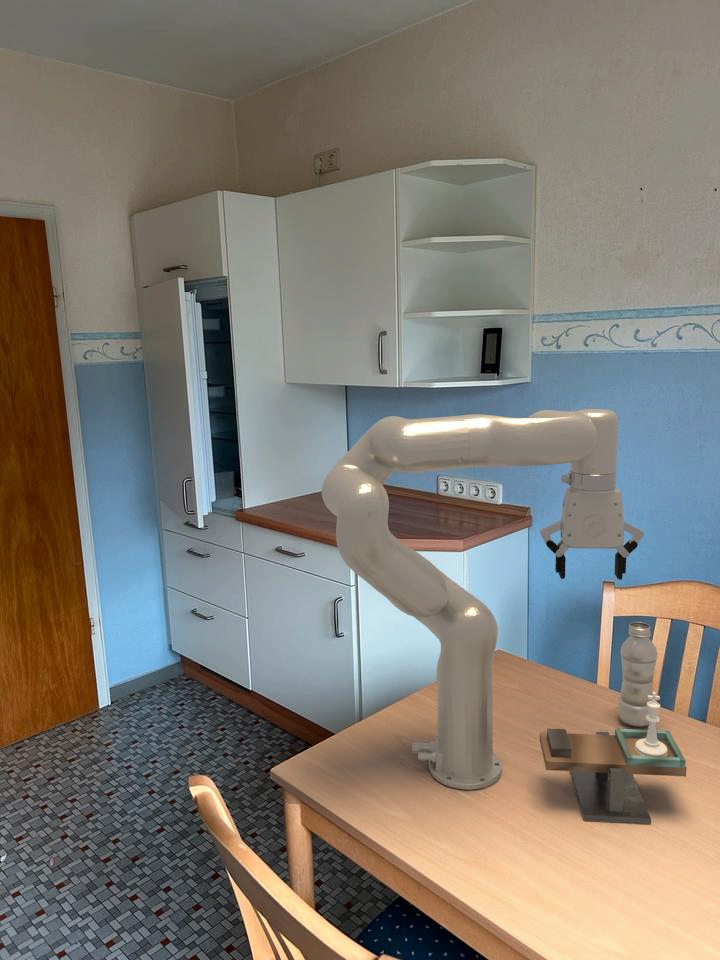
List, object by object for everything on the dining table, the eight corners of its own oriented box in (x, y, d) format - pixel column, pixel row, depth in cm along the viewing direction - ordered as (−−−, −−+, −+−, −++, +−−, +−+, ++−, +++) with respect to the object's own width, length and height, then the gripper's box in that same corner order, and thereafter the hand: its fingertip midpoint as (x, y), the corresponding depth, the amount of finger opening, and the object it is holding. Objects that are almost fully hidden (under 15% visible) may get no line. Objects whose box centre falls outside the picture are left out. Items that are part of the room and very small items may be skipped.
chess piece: (670, 760, 112) (674, 701, 110) (637, 757, 113) (640, 699, 111) (664, 743, 117) (667, 686, 115) (632, 741, 118) (634, 684, 116)
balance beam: (546, 775, 113) (546, 753, 112) (539, 744, 122) (539, 723, 121) (686, 782, 110) (687, 759, 110) (669, 750, 119) (670, 728, 119)
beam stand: (583, 820, 112) (584, 773, 110) (570, 771, 124) (571, 728, 123) (650, 824, 110) (652, 776, 109) (630, 774, 123) (632, 730, 122)
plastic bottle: (622, 710, 144) (626, 616, 140) (658, 720, 140) (662, 623, 136) (612, 725, 139) (616, 627, 135) (649, 735, 135) (653, 634, 131)
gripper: (543, 486, 121) (541, 583, 124) (651, 485, 119) (646, 584, 122) (538, 477, 128) (537, 569, 132) (640, 477, 126) (636, 570, 129)
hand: (589, 576), depth 127 cm, fingers open, 9 cm apart
